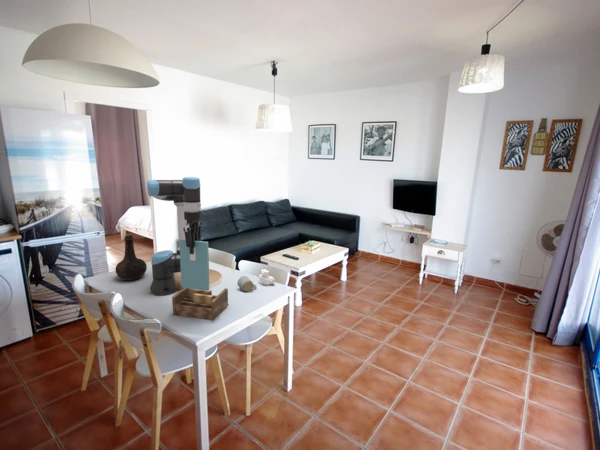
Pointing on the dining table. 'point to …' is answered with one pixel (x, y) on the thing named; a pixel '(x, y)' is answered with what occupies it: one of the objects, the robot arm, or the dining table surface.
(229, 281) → the dining table surface
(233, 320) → the dining table surface
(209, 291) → the oak offcut middle
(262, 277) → the white lumpy piece
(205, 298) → the oak offcut front
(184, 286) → the teal sheet
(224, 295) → the walnut rack
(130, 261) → the glass bottle
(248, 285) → the ceramic mug
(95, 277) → the dining table surface
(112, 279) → the dining table surface
